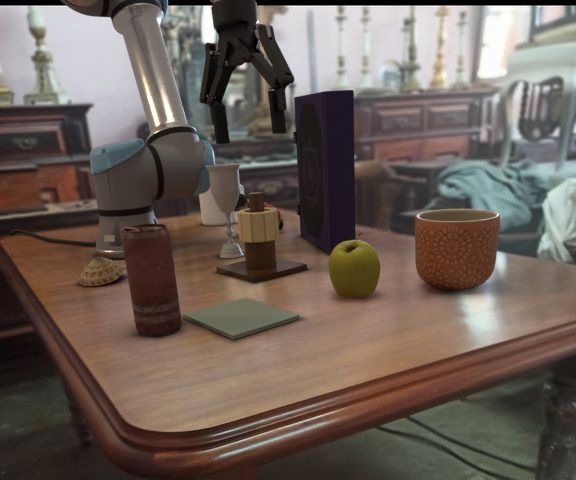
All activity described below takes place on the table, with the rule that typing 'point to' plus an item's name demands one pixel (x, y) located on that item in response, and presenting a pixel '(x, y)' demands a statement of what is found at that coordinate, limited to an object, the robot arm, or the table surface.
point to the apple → (354, 268)
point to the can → (151, 278)
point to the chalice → (226, 200)
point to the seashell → (100, 272)
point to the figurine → (244, 204)
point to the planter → (456, 247)
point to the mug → (214, 210)
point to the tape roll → (258, 225)
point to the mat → (240, 317)
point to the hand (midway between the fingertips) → (250, 139)
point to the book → (326, 167)
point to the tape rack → (260, 256)
